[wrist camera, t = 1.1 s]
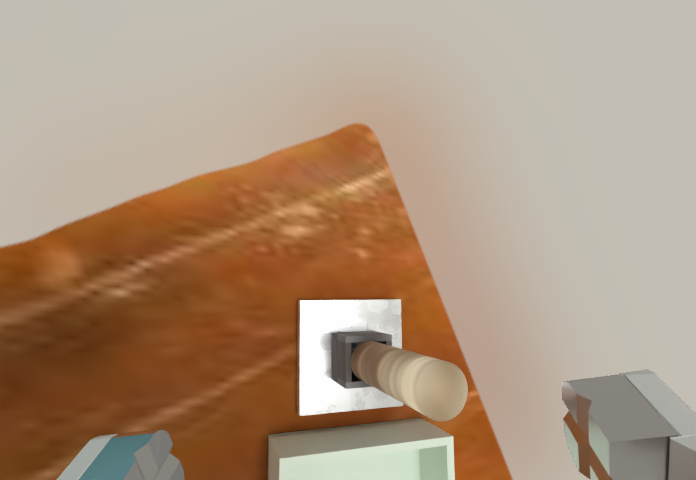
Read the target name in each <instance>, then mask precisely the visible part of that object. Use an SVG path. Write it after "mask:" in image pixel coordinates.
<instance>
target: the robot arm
mask: <svg viewBox="0 0 696 480" xmlns="http://www.w3.org/2000/svg"><path fill="white" fill-rule="evenodd" d="M562 400H563V401H564V403H565V405H566V406H567V408H568V410H569V411H568V413H567V414H566V416H565V417H564V418H563V421H564V432H565V437H566V441H567V445H568V449H569V451H570V454H571V456H572V458H573V460H574V463H575V465H576V467H577V468H578V470H579V472H581V473H582V474H583V475H585V476H586V477H588V478H589V479H590V480H696V413H695V412H694V411H693V410H692V409H691V408H690V407H689V406H688V405H687V404H686V403H685V402H684V401H683V400H682V399H681V398H680V397H679V396H678V395H677V394H676V393H675V392H674V391H673V390H672V389H671V388H670V387H669V386H668V385H666V384H665V383H664V382H663V381H662V380H661V379H660V378H659V377H658V376H657V375H656V374H655V373H654V372H652V371H650V370H642V371H634V372H628V373H620V374H619V375H611V376H603V377H595V378H587V379H579V380H571V381H564V382H563V385H562ZM172 446H173V443H172V440H171V438H170V436H169V434H168V432H167V431H164V430H151V431H140V432H129V433H119V434H112V435H102V436H97V437H95V438H93V439H91V440H90V441H89V442H88V443H87V444H86V445H85V447H84V448H83V449H82V450H81V451H80V452H79V454H78V455H77V456H76V457H75V458H74V460H73V461H72V462H71V463H70V464H69V465H68V467H67V468H66V469H65V470H64V471H63V473H62V474H61V475H60V476H59V477H58V478H57V480H184V472H183V468H182V465H181V463H180V460H178V459H177V458H176V457H174V456H173V455H172V454H170V451H171V448H172Z"/></svg>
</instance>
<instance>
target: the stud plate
mask: <svg viewBox="0 0 696 480" xmlns="http://www.w3.org/2000/svg"><path fill="white" fill-rule="evenodd" d="M355 331H377V332H381V333H386V334H390V335H392V346H393V347H396V348H400V349H402V330H401V299H375V300H297V413H298V415H299V416H304V415H314V414H324V413H334V412H344V411H354V410H365V409H375V408H385V407H395V406H403V403H402V402H400V401H398V400H396V399H394V398H393V397H391V396H389V395H387V394H385V393H384V392H382V391H380V390H378V389H376V388H374V387H363V388H351V389H345V388H344V387H342V386H341V385H339V384H338V383H336V382H335V381H333V380H332V379H331V332H355ZM361 343H362V342H354V343H351V356H352V353H353V351H354V349H355V348H356V347H357V346H358V345H359V344H361ZM352 372H353V371H352Z"/></svg>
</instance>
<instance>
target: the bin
mask: <svg viewBox="0 0 696 480" xmlns="http://www.w3.org/2000/svg"><path fill="white" fill-rule="evenodd" d="M268 480H455V473H454V445H453V436H452V435H450V434H448V433H447V432H445V431H443V430H441V429H440V428H438V427H436V426H434V425H433V424H431V423H429V422H427V421H426V420H424V419H422V418H414V419H405V420H396V421H387V422H378V423H369V424H360V425H351V426H342V427H333V428H324V429H315V430H306V431H297V432H288V433H279V434H270V435H268Z"/></svg>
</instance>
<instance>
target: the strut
mask: <svg viewBox="0 0 696 480" xmlns="http://www.w3.org/2000/svg"><path fill="white" fill-rule="evenodd" d="M354 342H362V343H361V344H359V345H358V346H357V347H356V348H355V349H354V351H353V353H352V356H351V343H354ZM352 371H353V372H352ZM331 379H332V380H333V381H335V382H336V383H338V384H339V385H341V386H342V387H344V388H345V389H351V388H363V387H374V388H376V389H378V390H380V391H382V392H384V393H385V394H387V395H389V396H391V397H393V398H394V399H396V400H398V401H400V402H402V403H403V404H405V405H407V406H409V407H411V408H413V409H414V410H416V411H418V412H420V413H422V414H423V415H425V416H427V417H429V418H431V419H433V420H436V421H447V420H450V419H452V418H454V417H455V416H457V415H458V414H459V413H460V411H461V410H462V409H463V407H464V405H465V403H466V399H467V394H468V387H467V381H466V378H465V376H464V374H463V372H462V371H461V370H460V369H459V368H458V367H457V366H456V365H454V364H452V363H450V362H446V361H443V360H439V359H436V358H432V357H428V356H425V355H421V354H418V353H414V352H411V351H407V350H403V349H400V348H396V347H393V346H392V335H390V334H386V333H381V332H377V331H355V332H331Z"/></svg>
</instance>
